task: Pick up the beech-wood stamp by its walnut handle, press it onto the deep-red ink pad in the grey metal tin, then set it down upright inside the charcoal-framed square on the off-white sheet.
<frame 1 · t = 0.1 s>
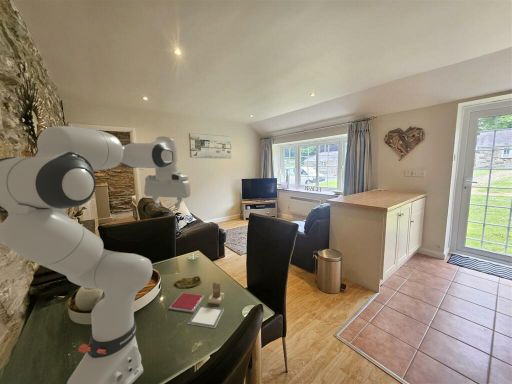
hand: (167, 207, 94), 48 cm above the table, tool pointing down, fingers open, 8 cm apart
ink pad: (187, 302, 104), on the table
stamp: (216, 300, 107), on the table
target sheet: (206, 316, 95), on the table
seal: (188, 284, 121), on the table
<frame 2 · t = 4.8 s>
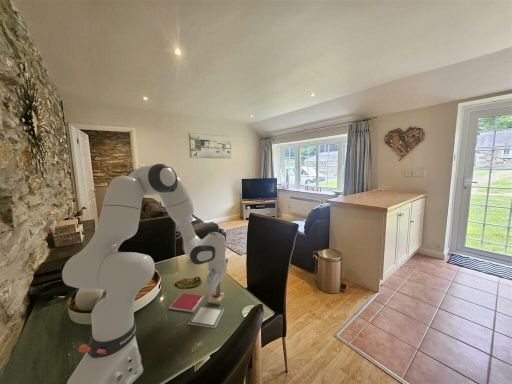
hand: (216, 291, 106), 5 cm above the table, tool pointing down, fingers closed on stamp, 4 cm apart
stamp: (216, 300, 107), on the table, touching gripper
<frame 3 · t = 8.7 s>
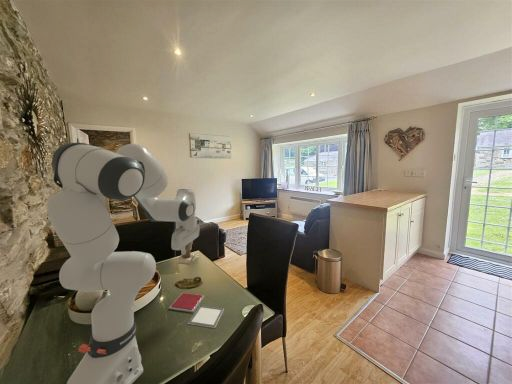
hand: (186, 252, 101), 26 cm above the table, tool pointing down, fingers closed on stamp, 4 cm apart
stamp: (186, 261, 102), point 21 cm above the table, touching gripper
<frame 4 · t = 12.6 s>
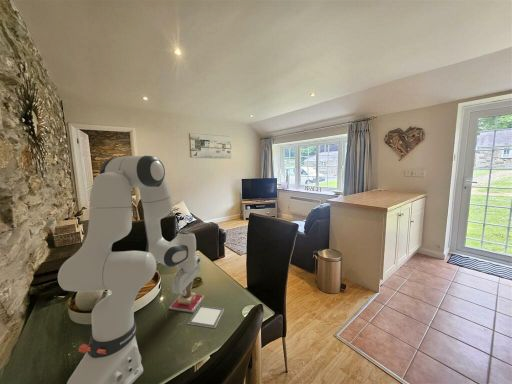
hand: (187, 291, 103), 6 cm above the table, tool pointing down, fingers closed on stamp, 4 cm apart
stamp: (186, 300, 104), point 1 cm above the table, touching gripper, ink pad
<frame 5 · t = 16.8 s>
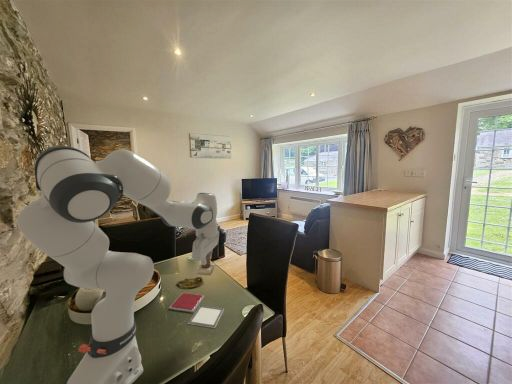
hand: (206, 261, 92), 25 cm above the table, tool pointing down, fingers closed on stamp, 4 cm apart
stamp: (206, 271, 93), point 21 cm above the table, touching gripper
when the fingers open (7 cm above the table, at t = 20.7 s): stamp drops 2 cm, resting on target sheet.
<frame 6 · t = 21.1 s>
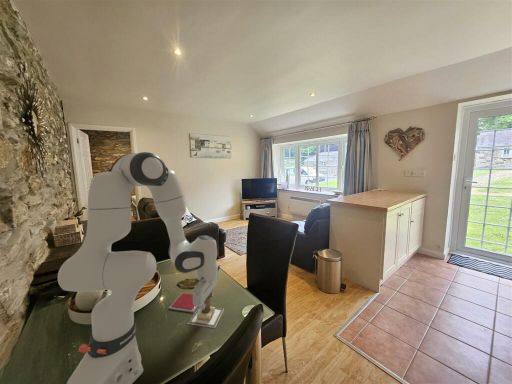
hand: (206, 302, 94), 7 cm above the table, tool pointing down, fingers open, 7 cm apart
stamp: (206, 315, 95), resting on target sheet
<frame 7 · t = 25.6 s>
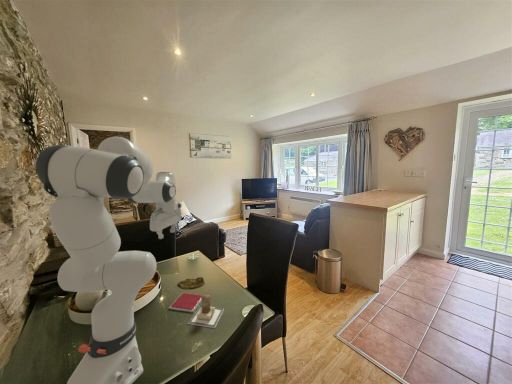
hand: (167, 235, 102), 33 cm above the table, tool pointing down, fingers open, 8 cm apart
at the end: stamp 0.4 cm off-centre on the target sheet, point 0.3 cm above the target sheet's base; stamp tilted 0°; the gripper is holding nothing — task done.
